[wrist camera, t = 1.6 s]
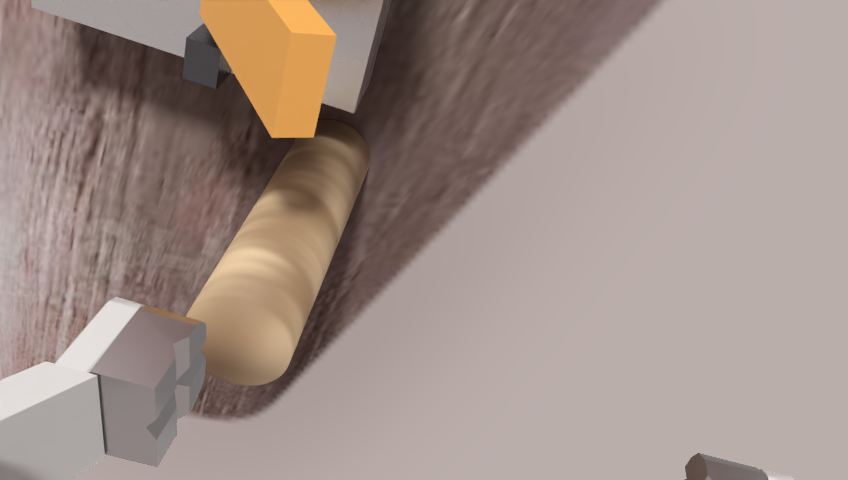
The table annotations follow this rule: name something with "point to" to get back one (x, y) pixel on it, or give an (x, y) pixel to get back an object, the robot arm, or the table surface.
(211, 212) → the table surface
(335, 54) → the breaker box
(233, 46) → the lever
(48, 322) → the table surface
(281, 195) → the oak post
